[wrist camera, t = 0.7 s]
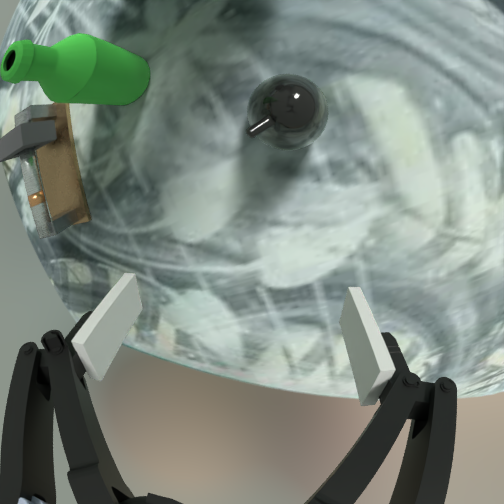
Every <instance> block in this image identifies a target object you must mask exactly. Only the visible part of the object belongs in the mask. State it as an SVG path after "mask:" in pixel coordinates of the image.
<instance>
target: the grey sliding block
mask: <svg viewBox="0 0 504 504" xmlns="http://www.w3.org/2000/svg"><path fill="white" fill-rule="evenodd" d="M56 139H57V136H56V129H55V122H54V120H48V121H39V122H30V123H23V124H19V125H18V126H17V127H15V128H14V129H13V130H11V131H10V132H9V133H7V134H6V135H5V136H3V137H2V138H1V139H0V162H2V161H6V160H9V159H12V158H16V157H19V152H20V151H22V150H23V149H25V148H29V147H33V146H34V149H35V150H37V149H39V148H41V147H43V146H45V145H46V144H48V143H50V142H52V141H54V140H56Z"/></svg>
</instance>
